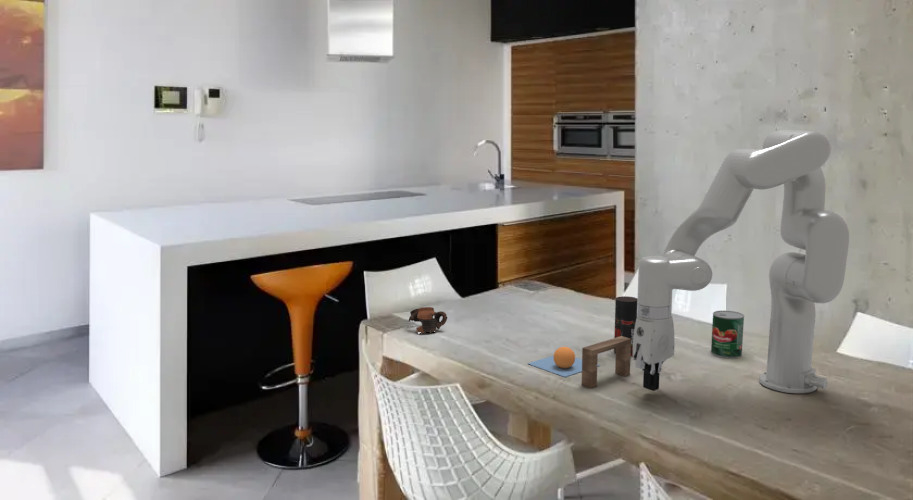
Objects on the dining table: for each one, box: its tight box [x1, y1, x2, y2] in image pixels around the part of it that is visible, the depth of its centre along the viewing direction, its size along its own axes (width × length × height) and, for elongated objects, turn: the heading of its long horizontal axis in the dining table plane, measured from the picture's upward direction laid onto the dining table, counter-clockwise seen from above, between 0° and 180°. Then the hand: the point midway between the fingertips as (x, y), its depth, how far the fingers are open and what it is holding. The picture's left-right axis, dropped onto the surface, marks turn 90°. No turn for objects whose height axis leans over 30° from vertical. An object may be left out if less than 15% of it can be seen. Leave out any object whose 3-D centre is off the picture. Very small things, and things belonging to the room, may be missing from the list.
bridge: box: [581, 336, 632, 389], centre depth 178 cm, size 3×14×9 cm, turn 129°
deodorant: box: [613, 296, 638, 357], centre depth 198 cm, size 6×6×15 cm
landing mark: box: [527, 355, 600, 378], centre depth 190 cm, size 13×13×1 cm
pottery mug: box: [407, 306, 448, 334], centre depth 222 cm, size 12×10×8 cm
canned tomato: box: [710, 310, 745, 359], centre depth 197 cm, size 8×8×11 cm
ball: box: [552, 346, 576, 369], centre depth 187 cm, size 6×6×6 cm
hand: (650, 388), depth 169 cm, fingers closed
